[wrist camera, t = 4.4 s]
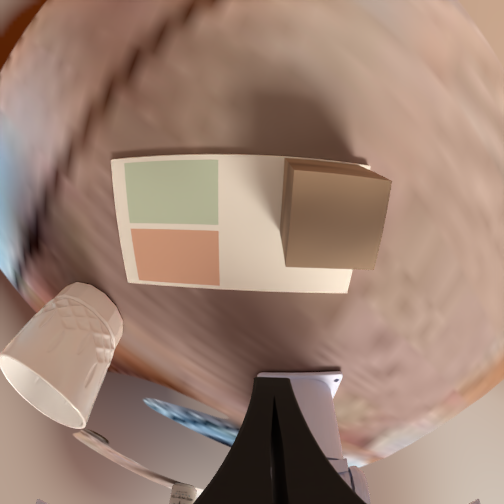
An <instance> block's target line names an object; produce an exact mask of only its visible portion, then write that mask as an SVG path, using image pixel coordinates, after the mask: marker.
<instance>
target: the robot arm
mask: <svg viewBox="0 0 504 504" xmlns="http://www.w3.org/2000/svg"><path fill="white" fill-rule="evenodd" d="M342 377H343V374H342V372H340V371H333V372H306V373H269V372H262V373H259V374H258V375H257V377H256V378H254V384H253V392H252V396H251V400H250V404H249V407H248V410H247V413H246V415H245V418H244V421H243V424H242V426H241V428H240V430H239V433H238V435H237V437H236V439H235V441H234V443H233V445H232V447H231V449H230V451H229V453H228V455H227V456H226V458H225V460H224V462H223V463H222V465H221V466H220V468H219V470H218V471H217V473H216V474H215V476H214V477H213V479H212V480H211V482H210V483H209V484H208V486H207V487H206V488H205V489H204V491H203V492H202V493H201V495H200V496H199V497H198V498H197V500H196V501H195V502H194V503H193V504H370V497H369V489H368V485H367V481H366V477H365V474H364V472H363V471H362V470H361V469H359V468H357V467H356V466H351V467H348V465H347V459H346V458H345V459H343V453H342V447H341V441H340V436H339V430H338V425H337V419H336V414H335V409H334V404H333V398H334V395H335V393H336V391H337V389H338V386H339V384H340V382H341V379H342ZM36 504H47V503H46V502H44V501H42V500H40V499H37V502H36ZM469 504H480V501H479V499H477V500H475V501H473V502H471V503H469Z"/></svg>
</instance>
